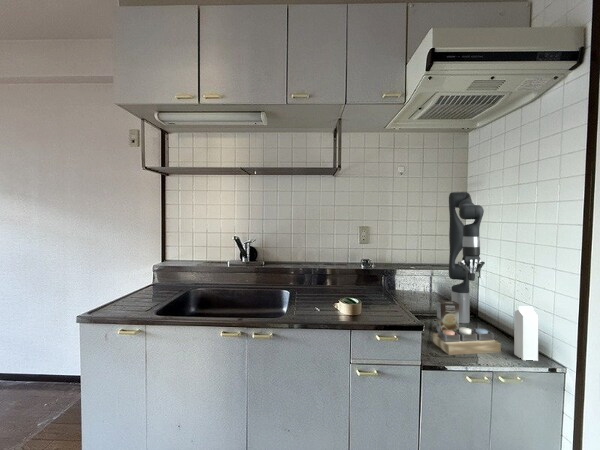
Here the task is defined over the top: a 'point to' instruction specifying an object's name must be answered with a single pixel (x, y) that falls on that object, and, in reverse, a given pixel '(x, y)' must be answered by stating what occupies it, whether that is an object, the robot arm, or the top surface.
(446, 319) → the coffee box
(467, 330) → the cream button
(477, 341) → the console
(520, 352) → the milk
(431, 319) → the top surface
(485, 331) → the slate blue button
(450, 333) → the terracotta button
